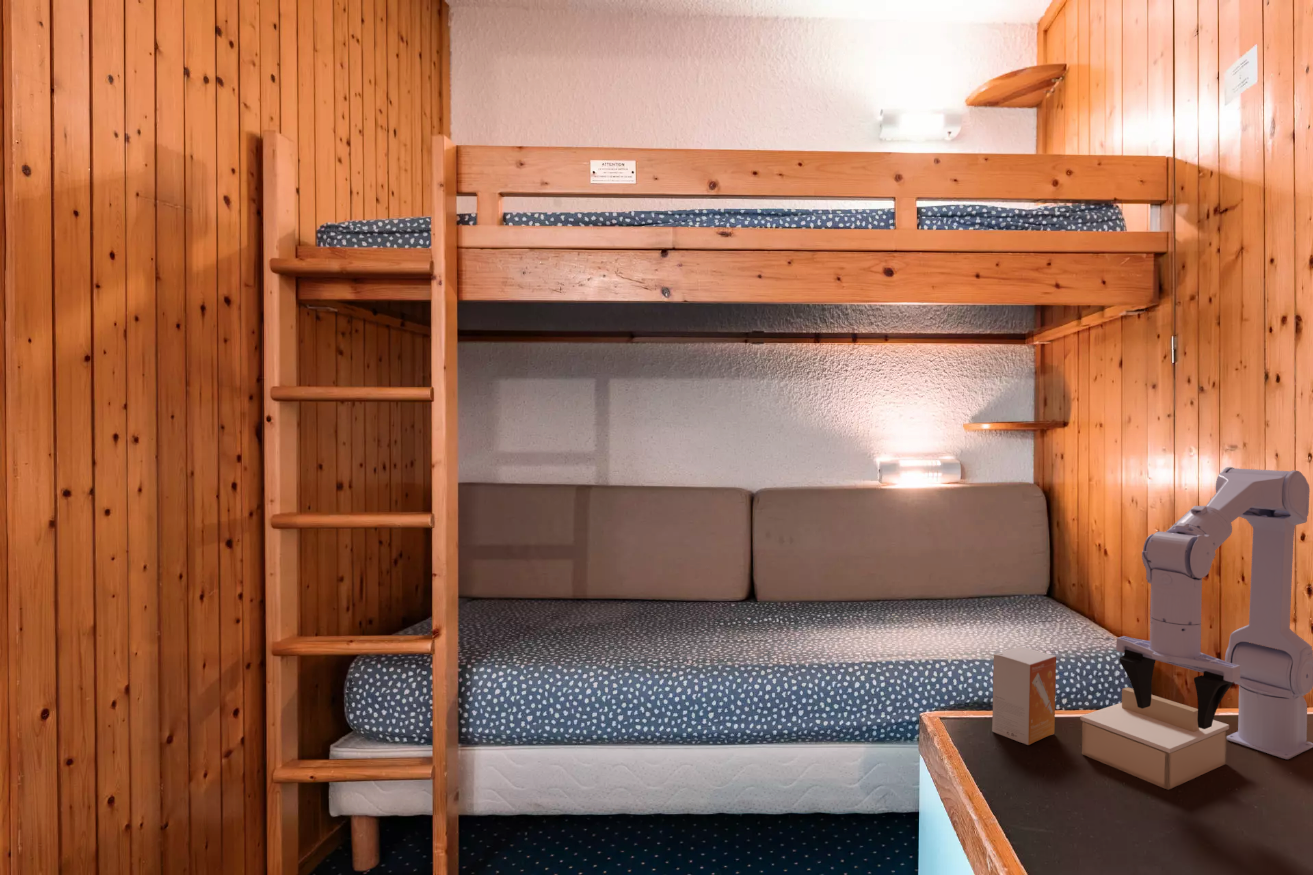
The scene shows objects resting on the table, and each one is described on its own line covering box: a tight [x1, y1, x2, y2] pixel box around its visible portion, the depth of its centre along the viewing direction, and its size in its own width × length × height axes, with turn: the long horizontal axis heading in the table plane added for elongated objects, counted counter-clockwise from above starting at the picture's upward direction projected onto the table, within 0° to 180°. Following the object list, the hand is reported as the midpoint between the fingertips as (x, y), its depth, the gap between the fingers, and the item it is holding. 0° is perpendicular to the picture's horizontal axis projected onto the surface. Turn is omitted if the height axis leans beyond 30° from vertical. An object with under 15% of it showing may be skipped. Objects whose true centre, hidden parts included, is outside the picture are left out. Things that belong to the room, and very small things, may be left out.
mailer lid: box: [1079, 686, 1230, 753], centre depth 108 cm, size 16×12×4 cm
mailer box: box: [1081, 721, 1228, 791], centre depth 108 cm, size 16×12×5 cm
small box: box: [991, 645, 1057, 746], centre depth 117 cm, size 8×6×13 cm
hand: (1173, 716), depth 100 cm, fingers open, 7 cm apart
